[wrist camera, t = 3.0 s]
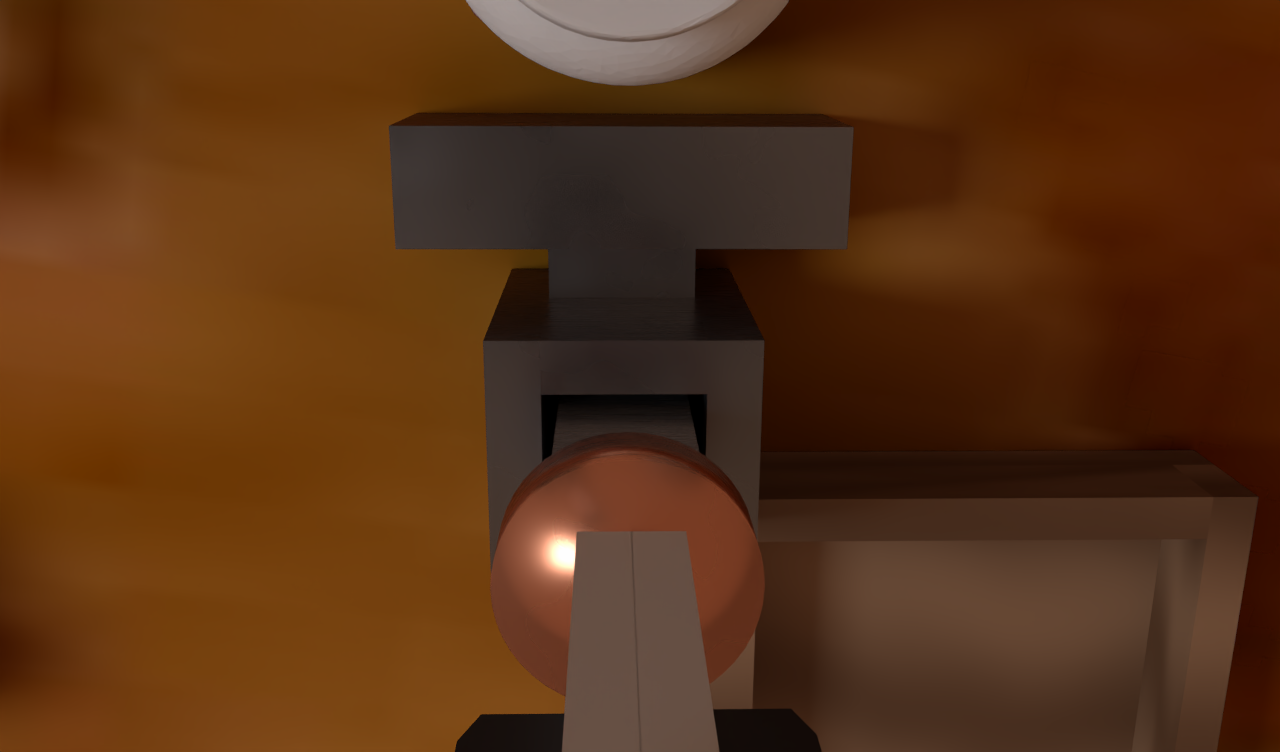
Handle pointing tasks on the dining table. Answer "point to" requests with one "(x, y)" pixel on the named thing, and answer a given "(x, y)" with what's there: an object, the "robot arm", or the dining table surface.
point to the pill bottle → (627, 34)
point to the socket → (620, 259)
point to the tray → (997, 599)
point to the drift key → (623, 526)
